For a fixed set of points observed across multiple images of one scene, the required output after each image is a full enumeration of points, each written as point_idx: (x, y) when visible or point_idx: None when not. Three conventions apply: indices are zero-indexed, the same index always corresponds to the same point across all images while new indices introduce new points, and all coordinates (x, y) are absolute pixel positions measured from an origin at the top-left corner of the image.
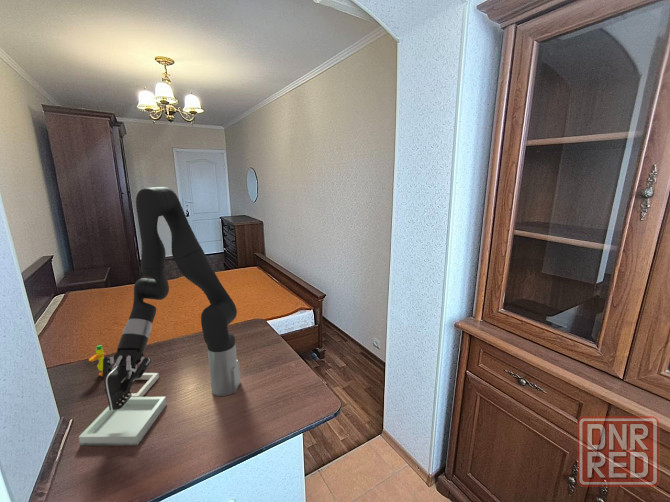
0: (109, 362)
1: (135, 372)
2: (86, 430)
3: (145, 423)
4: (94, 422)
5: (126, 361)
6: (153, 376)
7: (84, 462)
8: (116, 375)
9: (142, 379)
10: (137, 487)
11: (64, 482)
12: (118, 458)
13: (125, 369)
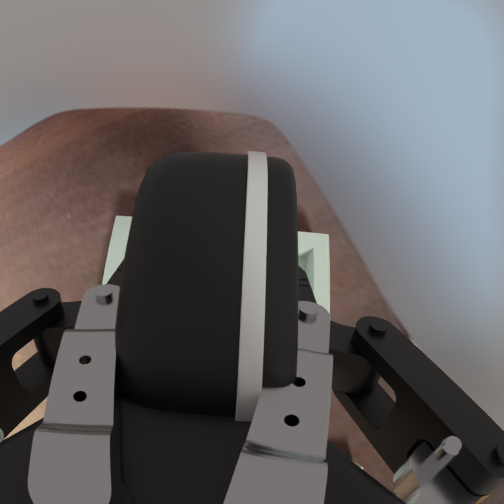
0: (431, 452)
1: (31, 314)
2: (323, 263)
3: (104, 275)
4: (321, 302)
5: (113, 433)
6: None
7: None
8: (158, 171)
9: None
10: (90, 122)
11: (268, 141)
12: None
13: (116, 326)
